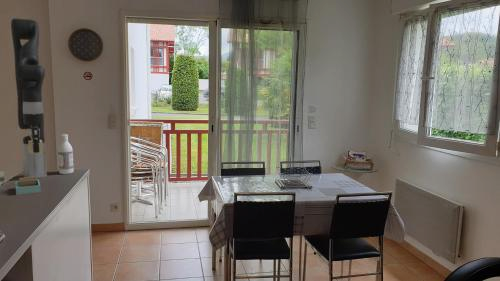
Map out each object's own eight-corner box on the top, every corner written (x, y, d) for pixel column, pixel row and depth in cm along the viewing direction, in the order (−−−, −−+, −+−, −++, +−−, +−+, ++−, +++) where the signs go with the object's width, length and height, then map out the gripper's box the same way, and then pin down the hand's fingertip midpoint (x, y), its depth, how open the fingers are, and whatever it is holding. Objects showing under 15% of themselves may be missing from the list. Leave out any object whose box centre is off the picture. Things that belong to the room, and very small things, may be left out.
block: (20, 189, 168) (19, 177, 167) (35, 187, 171) (34, 176, 170) (20, 192, 163) (19, 181, 162) (36, 190, 166) (35, 179, 165)
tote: (16, 189, 169) (15, 181, 169) (39, 186, 174) (38, 179, 173) (16, 196, 160) (15, 188, 159) (40, 193, 165) (40, 185, 164)
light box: (29, 151, 167) (28, 140, 166) (42, 150, 170) (41, 139, 169) (29, 153, 163) (29, 142, 162) (43, 152, 166) (42, 141, 165)
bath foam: (56, 173, 199) (54, 134, 196) (68, 170, 205) (66, 133, 201) (64, 174, 195) (62, 136, 192) (76, 172, 201) (74, 134, 198)
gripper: (22, 111, 168) (24, 149, 170) (24, 114, 156) (27, 155, 159) (41, 110, 172) (43, 148, 174) (44, 113, 160) (47, 153, 163)
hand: (35, 151), depth 166 cm, fingers closed on light box, 5 cm apart
